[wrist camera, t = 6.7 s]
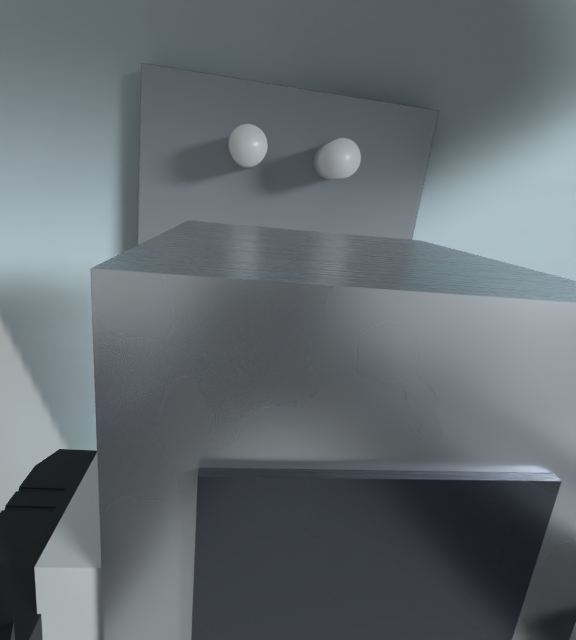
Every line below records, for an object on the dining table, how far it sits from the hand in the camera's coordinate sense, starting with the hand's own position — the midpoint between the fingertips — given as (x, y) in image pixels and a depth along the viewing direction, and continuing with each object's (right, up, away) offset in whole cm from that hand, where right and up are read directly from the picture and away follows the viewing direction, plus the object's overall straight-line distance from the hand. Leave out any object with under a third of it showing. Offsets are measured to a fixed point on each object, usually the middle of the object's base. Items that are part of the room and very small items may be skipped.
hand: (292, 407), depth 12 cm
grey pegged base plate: (-1, +4, +12) cm, 13 cm away
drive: (0, 0, 0) cm, 1 cm away
